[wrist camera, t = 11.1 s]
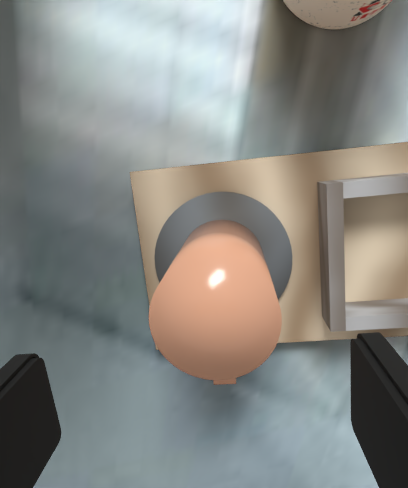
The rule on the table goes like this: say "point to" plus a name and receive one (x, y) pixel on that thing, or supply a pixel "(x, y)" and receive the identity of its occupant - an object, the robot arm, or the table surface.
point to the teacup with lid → (336, 11)
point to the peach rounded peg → (217, 305)
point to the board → (298, 232)
